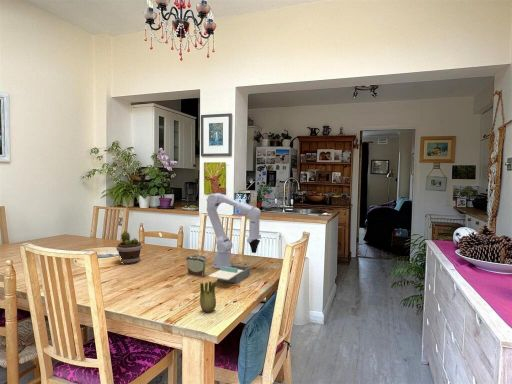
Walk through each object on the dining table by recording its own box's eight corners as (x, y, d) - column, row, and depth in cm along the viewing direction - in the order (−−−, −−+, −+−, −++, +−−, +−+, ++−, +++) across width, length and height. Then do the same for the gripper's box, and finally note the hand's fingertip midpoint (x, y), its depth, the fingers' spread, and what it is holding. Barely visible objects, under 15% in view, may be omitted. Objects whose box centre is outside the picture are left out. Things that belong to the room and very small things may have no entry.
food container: (211, 274, 176) (211, 256, 175) (204, 277, 170) (204, 259, 169) (192, 271, 181) (192, 253, 180) (185, 274, 175) (185, 256, 175)
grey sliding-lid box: (217, 280, 166) (217, 272, 166) (232, 272, 180) (232, 264, 180) (236, 283, 161) (236, 275, 161) (250, 275, 176) (250, 267, 176)
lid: (208, 276, 158) (208, 271, 158) (224, 268, 172) (224, 263, 172) (228, 280, 153) (228, 274, 153) (243, 271, 168) (243, 266, 168)
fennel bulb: (198, 311, 128) (198, 282, 127) (204, 307, 133) (205, 278, 132) (211, 314, 126) (211, 284, 125) (217, 309, 131) (217, 280, 130)
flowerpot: (147, 261, 200) (147, 229, 199) (126, 267, 187) (125, 233, 186) (132, 257, 207) (132, 226, 206) (110, 263, 195) (110, 230, 193)
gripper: (255, 231, 174) (255, 256, 175) (265, 227, 187) (265, 250, 188) (243, 230, 177) (243, 254, 178) (254, 226, 190) (254, 249, 191)
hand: (253, 252), depth 183 cm, fingers closed
